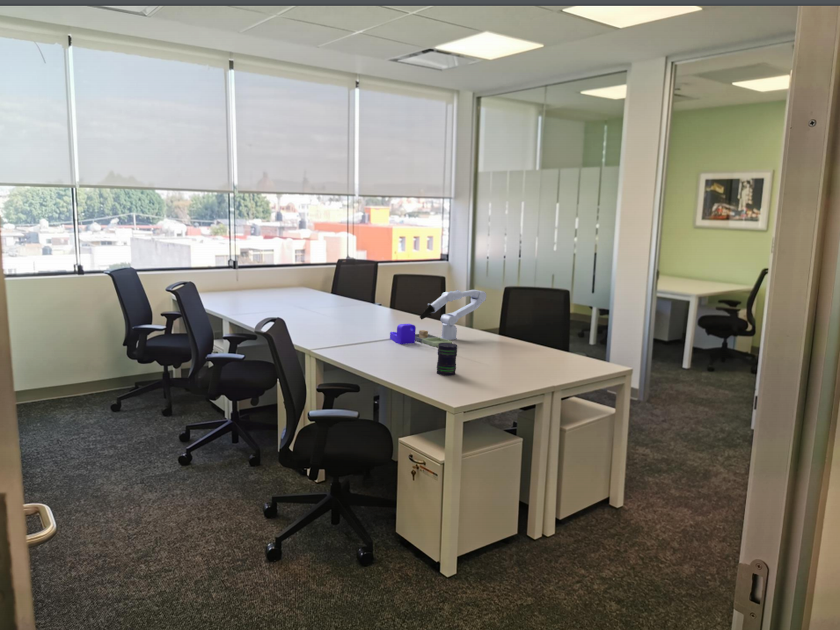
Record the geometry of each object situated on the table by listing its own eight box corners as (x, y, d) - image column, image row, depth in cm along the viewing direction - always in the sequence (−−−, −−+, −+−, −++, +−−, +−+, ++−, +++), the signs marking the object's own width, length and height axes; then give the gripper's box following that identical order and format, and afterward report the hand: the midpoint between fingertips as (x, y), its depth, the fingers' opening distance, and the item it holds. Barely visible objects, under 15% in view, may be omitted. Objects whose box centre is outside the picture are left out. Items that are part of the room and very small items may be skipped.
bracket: (414, 343, 390) (415, 324, 388) (400, 344, 383) (401, 325, 382) (398, 337, 404) (399, 319, 402) (384, 339, 397) (385, 320, 396)
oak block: (423, 337, 405) (424, 330, 404) (427, 338, 402) (428, 331, 401) (418, 338, 402) (419, 330, 401) (422, 339, 399) (423, 331, 398)
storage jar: (435, 370, 324) (437, 342, 321) (454, 371, 325) (456, 343, 322) (437, 375, 314) (439, 346, 312) (456, 376, 315) (458, 347, 312)
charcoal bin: (425, 337, 411) (425, 333, 411) (437, 340, 401) (438, 337, 401) (408, 338, 403) (408, 334, 402) (420, 342, 393) (420, 338, 392)
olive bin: (438, 341, 400) (439, 337, 400) (452, 345, 390) (452, 341, 390) (421, 342, 392) (421, 338, 392) (434, 346, 382) (434, 342, 381)
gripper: (430, 303, 408) (415, 314, 403) (436, 296, 395) (420, 308, 390) (437, 311, 408) (422, 323, 403) (443, 304, 394) (428, 316, 389)
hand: (422, 316), depth 396 cm, fingers open, 7 cm apart
